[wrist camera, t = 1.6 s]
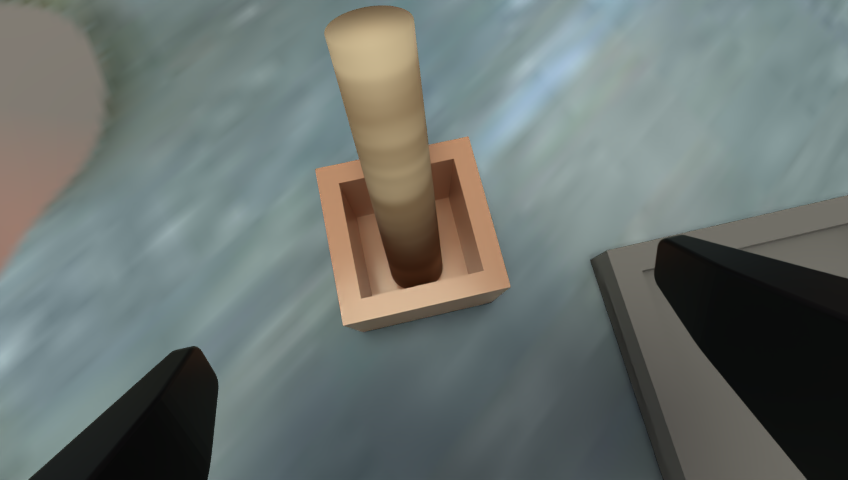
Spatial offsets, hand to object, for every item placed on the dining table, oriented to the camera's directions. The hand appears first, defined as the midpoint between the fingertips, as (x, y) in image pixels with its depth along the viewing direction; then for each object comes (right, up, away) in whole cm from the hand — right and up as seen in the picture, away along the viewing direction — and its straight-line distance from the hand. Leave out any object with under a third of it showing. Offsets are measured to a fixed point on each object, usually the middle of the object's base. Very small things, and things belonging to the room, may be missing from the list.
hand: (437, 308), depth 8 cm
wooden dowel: (-1, +2, +13) cm, 13 cm away
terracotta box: (-1, +1, +13) cm, 13 cm away
